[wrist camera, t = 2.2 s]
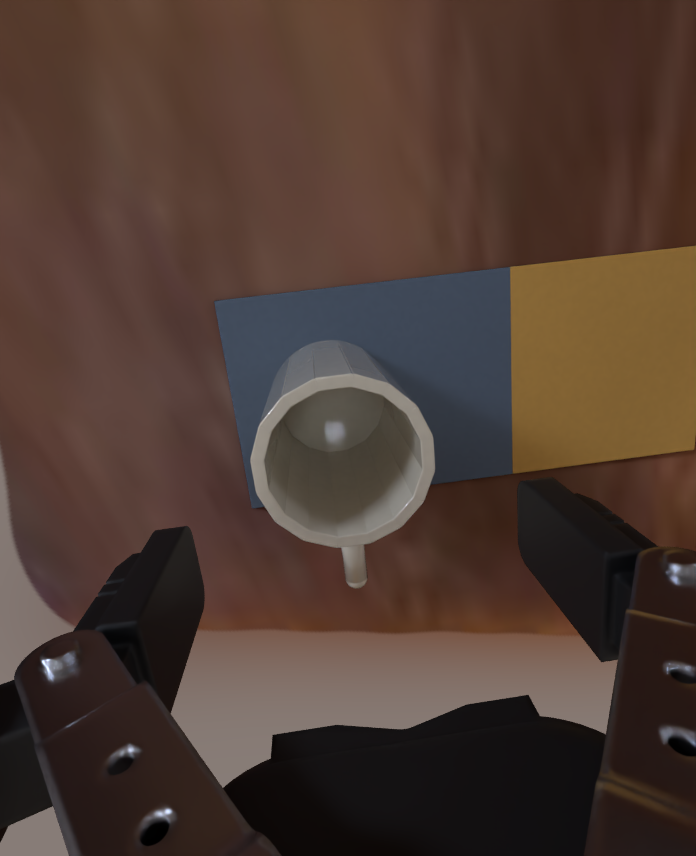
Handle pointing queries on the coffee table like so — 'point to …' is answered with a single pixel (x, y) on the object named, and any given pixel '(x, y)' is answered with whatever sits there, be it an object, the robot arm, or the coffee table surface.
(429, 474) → the mug
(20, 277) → the coffee table surface
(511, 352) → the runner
